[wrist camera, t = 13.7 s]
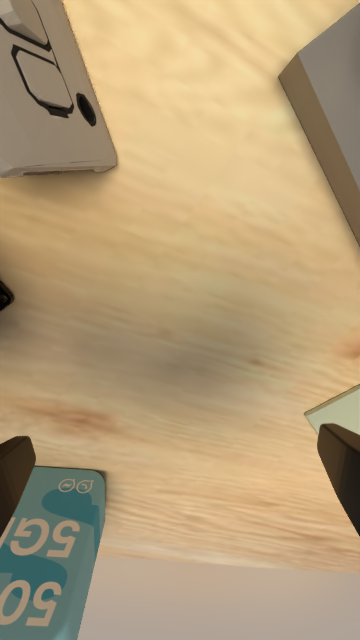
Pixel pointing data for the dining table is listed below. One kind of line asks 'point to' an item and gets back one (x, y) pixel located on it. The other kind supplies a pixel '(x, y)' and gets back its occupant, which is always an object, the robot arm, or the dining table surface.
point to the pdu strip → (332, 107)
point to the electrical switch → (46, 95)
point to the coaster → (338, 411)
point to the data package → (50, 554)
